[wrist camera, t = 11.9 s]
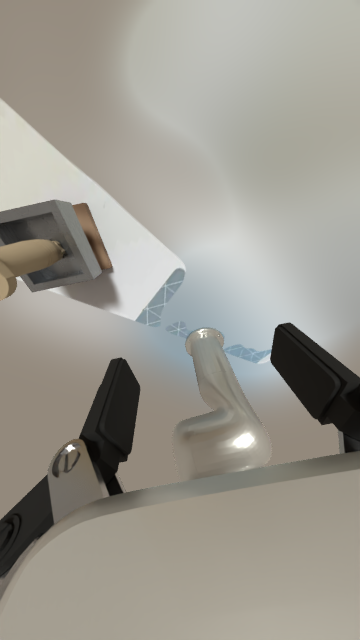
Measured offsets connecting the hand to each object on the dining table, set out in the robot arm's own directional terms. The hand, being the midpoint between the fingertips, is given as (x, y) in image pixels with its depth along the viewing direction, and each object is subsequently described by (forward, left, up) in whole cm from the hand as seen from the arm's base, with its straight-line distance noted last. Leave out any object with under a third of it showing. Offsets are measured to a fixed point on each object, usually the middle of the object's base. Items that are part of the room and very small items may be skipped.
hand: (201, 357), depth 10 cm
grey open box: (+7, +20, -26) cm, 34 cm away
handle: (+7, +20, -25) cm, 33 cm away
